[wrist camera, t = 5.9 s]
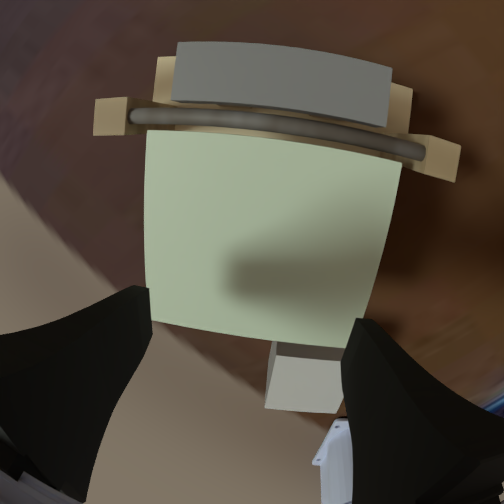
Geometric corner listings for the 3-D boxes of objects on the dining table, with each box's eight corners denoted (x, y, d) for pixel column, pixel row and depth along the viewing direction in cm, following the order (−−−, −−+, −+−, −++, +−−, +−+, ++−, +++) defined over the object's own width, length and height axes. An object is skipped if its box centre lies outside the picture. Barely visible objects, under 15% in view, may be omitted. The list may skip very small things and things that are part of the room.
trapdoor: (348, 335, 15) (352, 352, 14) (156, 307, 15) (146, 322, 14) (402, 80, 10) (415, 75, 9) (166, 51, 11) (154, 43, 9)
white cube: (329, 366, 23) (335, 413, 18) (268, 360, 23) (264, 407, 19) (346, 316, 21) (358, 362, 17) (278, 309, 21) (276, 355, 17)
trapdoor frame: (397, 166, 17) (453, 187, 10) (154, 134, 18) (92, 140, 11) (407, 90, 15) (467, 75, 8) (162, 59, 16) (105, 31, 9)
